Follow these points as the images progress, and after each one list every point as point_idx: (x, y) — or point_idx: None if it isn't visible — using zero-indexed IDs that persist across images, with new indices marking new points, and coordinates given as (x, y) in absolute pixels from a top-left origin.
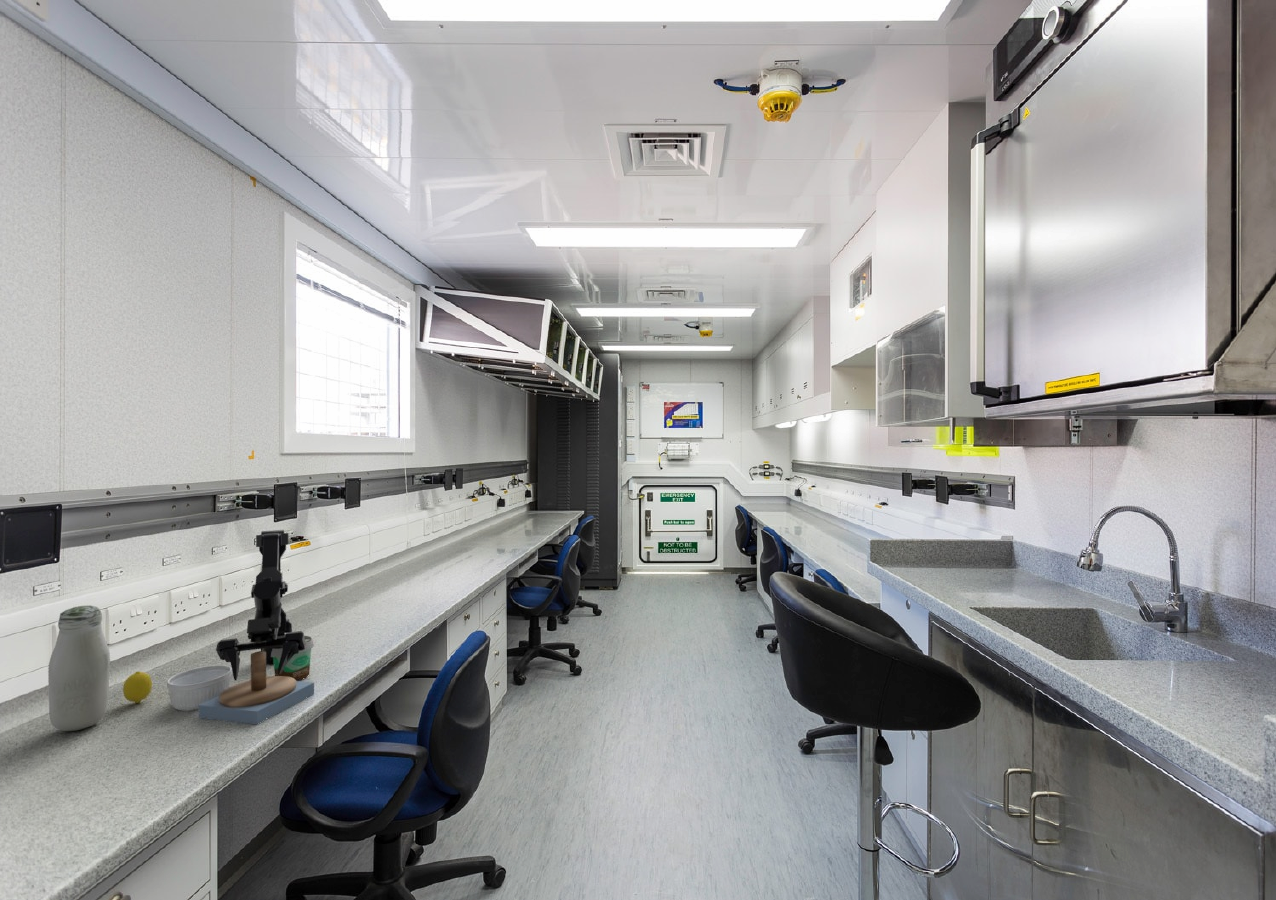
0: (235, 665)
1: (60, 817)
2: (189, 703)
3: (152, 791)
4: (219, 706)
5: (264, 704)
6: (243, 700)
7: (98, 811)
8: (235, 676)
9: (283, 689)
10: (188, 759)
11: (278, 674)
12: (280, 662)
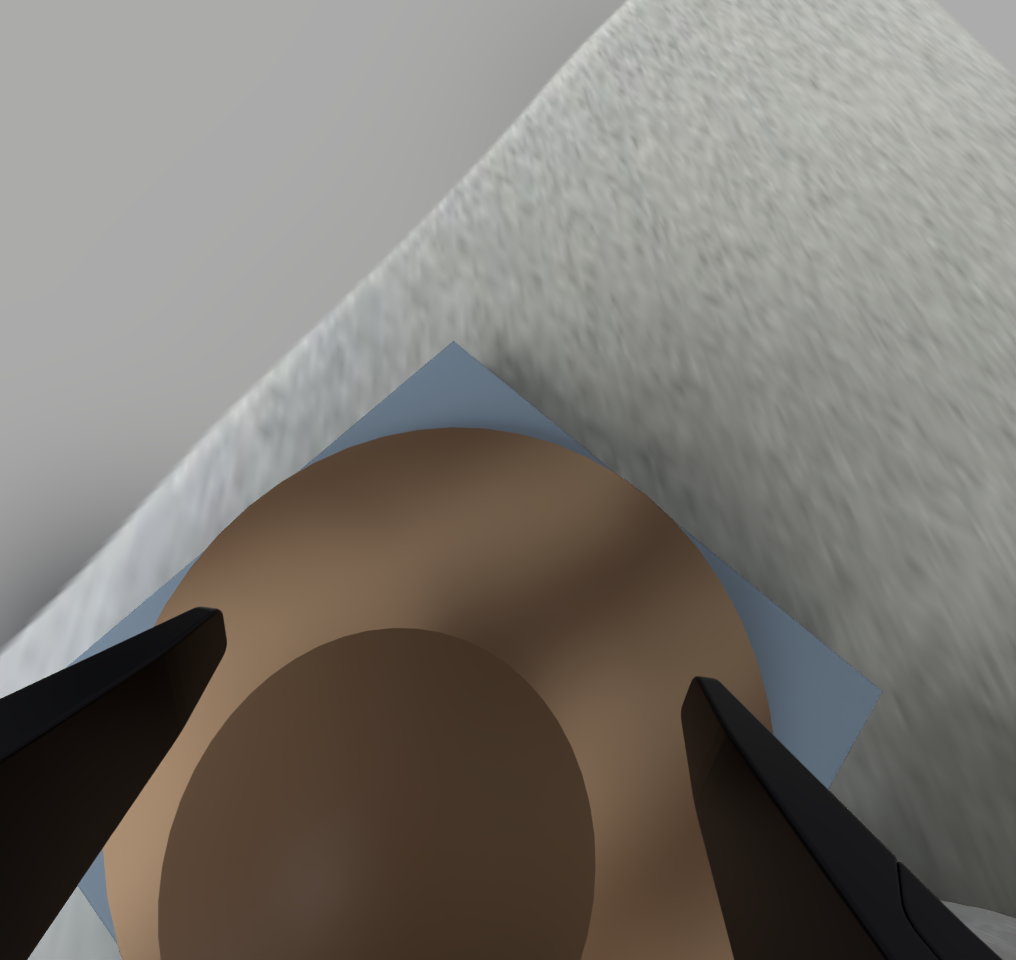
0: (823, 844)
1: (913, 66)
2: (1000, 916)
3: (723, 72)
4: (708, 562)
5: (412, 429)
6: (550, 474)
7: (825, 49)
8: (711, 691)
9: (257, 555)
10: (685, 204)
11: (222, 637)
12: (77, 689)
